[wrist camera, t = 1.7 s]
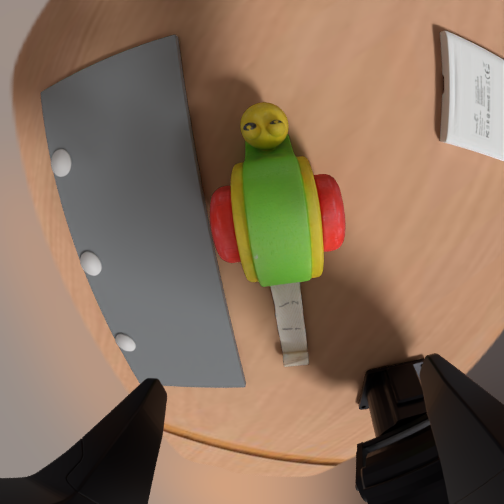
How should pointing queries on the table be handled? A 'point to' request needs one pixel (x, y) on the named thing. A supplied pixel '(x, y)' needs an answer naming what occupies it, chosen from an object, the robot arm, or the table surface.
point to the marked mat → (142, 214)
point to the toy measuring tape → (277, 221)
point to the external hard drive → (472, 97)
